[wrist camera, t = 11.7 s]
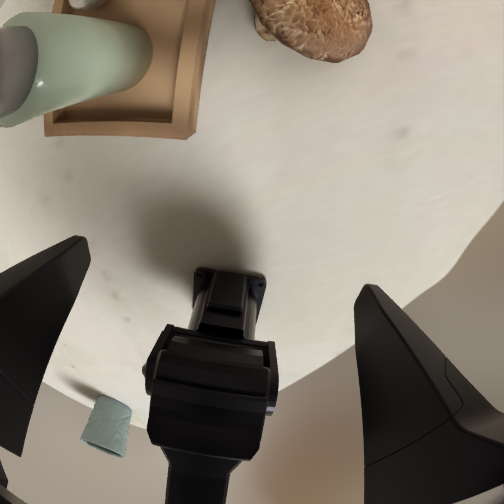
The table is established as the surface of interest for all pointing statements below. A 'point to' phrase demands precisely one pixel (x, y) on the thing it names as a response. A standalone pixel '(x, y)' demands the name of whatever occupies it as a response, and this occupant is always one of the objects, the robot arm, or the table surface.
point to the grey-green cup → (108, 426)
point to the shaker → (66, 62)
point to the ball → (85, 4)
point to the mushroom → (315, 26)
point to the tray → (157, 77)
